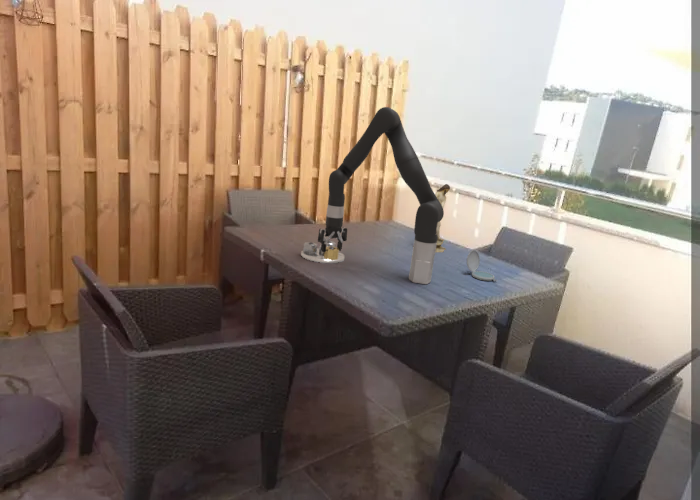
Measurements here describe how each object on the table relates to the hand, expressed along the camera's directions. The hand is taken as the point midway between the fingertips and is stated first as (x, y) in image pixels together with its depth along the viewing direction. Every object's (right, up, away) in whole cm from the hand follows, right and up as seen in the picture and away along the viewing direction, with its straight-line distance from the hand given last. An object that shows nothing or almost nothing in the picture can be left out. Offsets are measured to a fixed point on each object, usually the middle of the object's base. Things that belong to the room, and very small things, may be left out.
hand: (331, 251), depth 211 cm
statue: (+52, +2, +46) cm, 69 cm away
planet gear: (0, -3, +1) cm, 3 cm away
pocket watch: (+68, -12, +2) cm, 69 cm away
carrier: (-4, -3, +6) cm, 7 cm away
